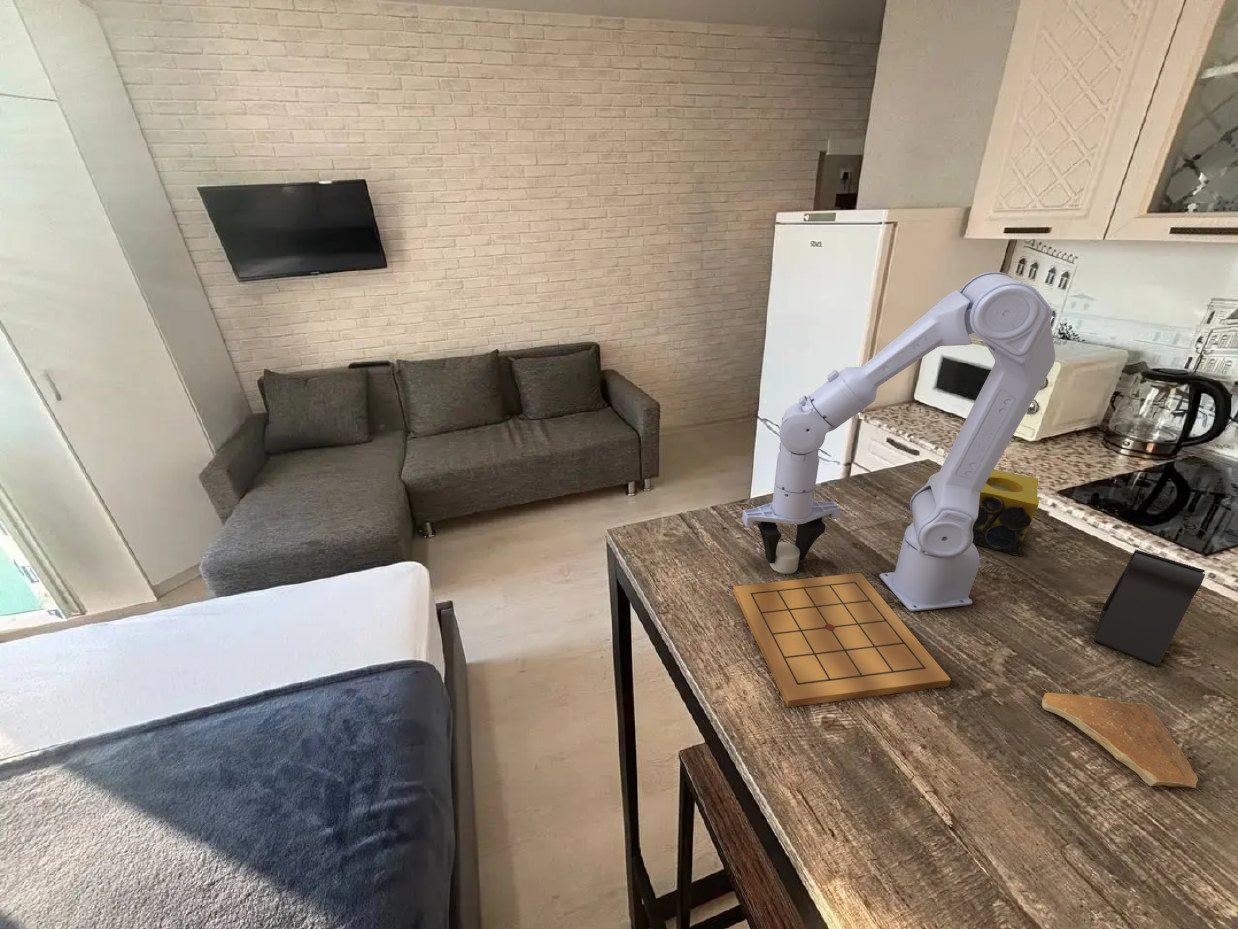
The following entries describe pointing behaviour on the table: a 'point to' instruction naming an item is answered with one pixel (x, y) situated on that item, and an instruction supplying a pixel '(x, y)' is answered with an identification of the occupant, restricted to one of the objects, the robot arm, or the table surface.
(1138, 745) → the pottery shard
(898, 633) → the game board
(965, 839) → the table surface
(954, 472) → the robot arm
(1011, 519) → the yellow cube with hollow
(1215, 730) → the table surface
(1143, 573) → the phone stand
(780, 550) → the white stone
